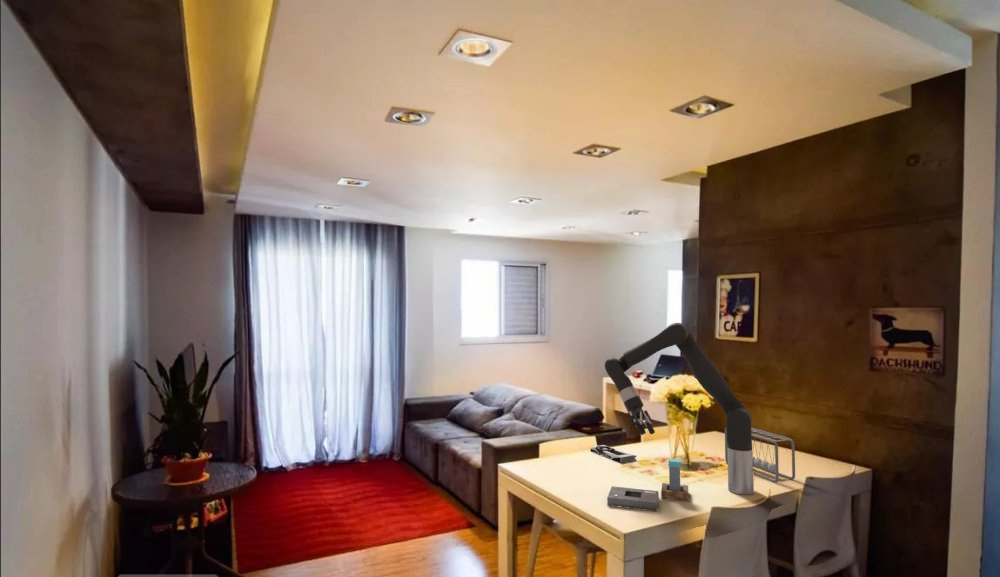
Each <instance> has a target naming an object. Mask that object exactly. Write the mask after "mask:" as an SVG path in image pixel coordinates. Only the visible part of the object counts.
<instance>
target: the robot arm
mask: <svg viewBox="0 0 1000 577" xmlns="http://www.w3.org/2000/svg"><path fill="white" fill-rule="evenodd" d="M673 346H676V347H677V349H678V350H679V351H680V352H681V353H682V355H683V357H685V359H686V362H687V365H688V367H689V369H690V370H691V372H692V374H693V376H694V377H695V379H696V381H698V383H699V385H700V387H702V388H703V390H705V392H706V393H707V394H708V395H710V397H712V398H713V399H714V400H715V401H716V402H717V403H718V405H719V407H721V409H722V410H723V412H724V414H725V416H726V418H725V419H726V420H725V425H726V427H725V429H726V432H727V447H728V464H727V487H728V488H727V489H728V491H729V492H731V493H734V494H737V495H754V494H755V484H754V482H755V479H754V476H755V475H753V472H754V466H753V461H752V453H753V440H752V438H753V437H752V435H751V433H752V431H751V428H752V422H753V416H752V415H751V413H750V411H749V410H748V409H747V407H745V406H744V404H742V402H741V401H740V400H739V399H738V397H736V395H735V394H734V393H733V391H732V390H731V388H730V386H729V384H728V383H727V381H726V380H725V379H724V377H723V376H722V374H721V373H720V371H719V370H718V369H717V368H716V366H715V365H714V363H713V361H711V360H710V358H709V357H708V356H707V355H706V353H705V352H704V351H703V350H702V349H701V348H700V347H699V345H698V343H697V342H696V340H695V338H694V337H693V335H692V334H691V332H690V330H689V328H688V327H687V326H686V325H685V324H684V323H680V322H674V323H671V324H669V325H668V326H667V327H666V328H664V329H663V330H662V331H661V332H659V333H658V334H656V335H654V337H651V338H650V339H647V340H646V341H644V342H642V343H640V344H638V345H635V346H633V347H632V348H630V349H628V350H626V351H625V352H623V355H622V356H620V357H618V358H615V357H609V358H607V359H606V360H605V362H604V369H605V372H606V374H607V375H608V376H609V378H610V379H611V381H612V382H613V383H614V385H615V387H616V389H617V391H618V393H619V396H620V399H621V401H622V403H623V406H624V408H625V409H626V411H627V415H628V416H629V419H630V421H631V424H632V425H633V426H635V427H636V428H637V429H638V431H639V434H640V435H641V436H643V435H645V434H646V433H647V431H648V433H649V434H650V435H653V434H655V433H656V431H655V429H654V427H653V423H654V422H653V420H652V418H651V416H650V414H649V411H648V410H643V409H642V408H643V407H644V402H643V401H642V399H641V397H640V395H639V393H638V391H637V389H636V388H635V386H634V384H633V383H632V380H631V378H630V377H629V376H628V375H626V374H625V372H627V371H628V370H630V369H631V368H632V367H633V366H636V365H637V364H639V363H642V362H643V361H645V360H646V359H648V358H650V357H652V356H653V355H654V354H656V353H658V352H660V351H661V350H665V349H667V348H669V347H670V348H671V347H673ZM643 424H644V425H645V426H646V429H647V431H646V430H645V427H644V426H643Z"/></svg>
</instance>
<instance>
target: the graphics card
mask: <svg viewBox="0 0 1000 577" xmlns="http://www.w3.org/2000/svg"><path fill="white" fill-rule="evenodd" d="M590 452H592V453H594V452H595V453H594V454H596V453H597V454H596V455H599V456H601V455H602V456H601V457H604V456H605V457H604V458H606V457H607V458H606V459H609V460H611V459H612V461H614V462H616V461H617V463H619V464H622V463H623V464H624V463H630V462H634V461H637V459H636V458H637V455H636V454H635V455H634V454H631V453H629V452H628V453H627V452H623V451H621V450H619V449H617V448H613V447H611V446H609V445H605V444H600V445H595V446H593V445H592V446H591V448H590Z"/></svg>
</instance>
